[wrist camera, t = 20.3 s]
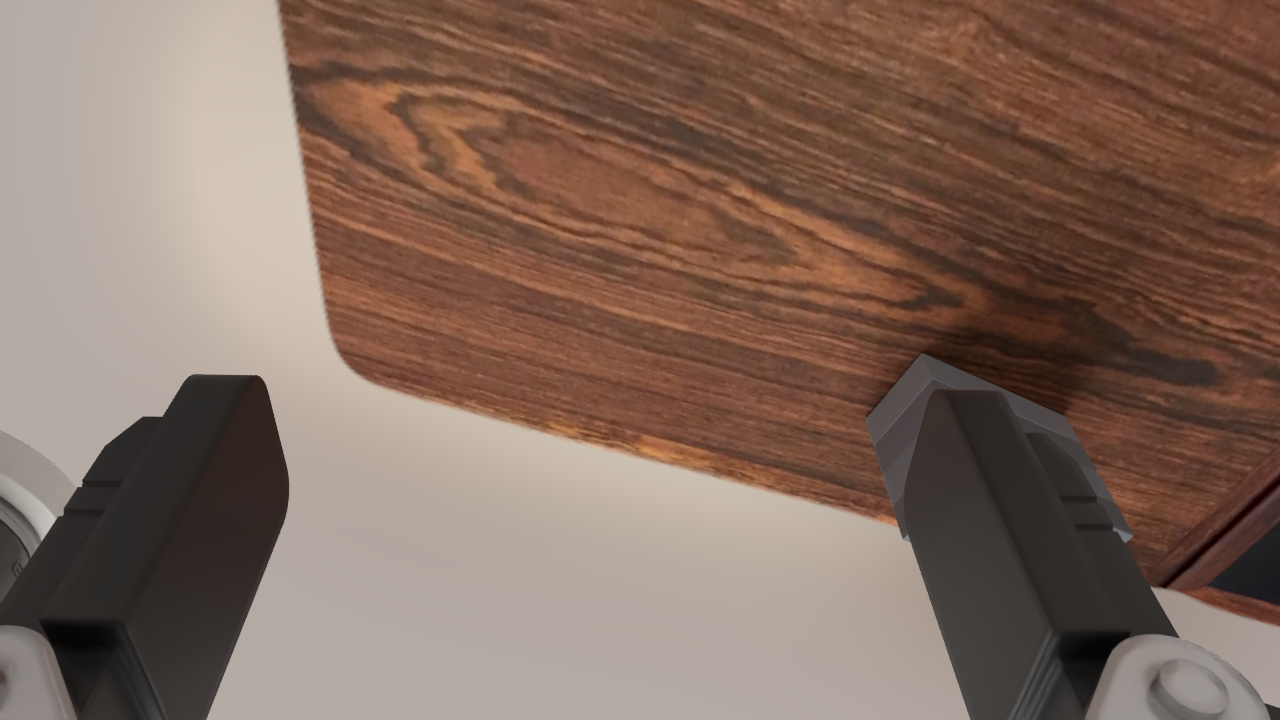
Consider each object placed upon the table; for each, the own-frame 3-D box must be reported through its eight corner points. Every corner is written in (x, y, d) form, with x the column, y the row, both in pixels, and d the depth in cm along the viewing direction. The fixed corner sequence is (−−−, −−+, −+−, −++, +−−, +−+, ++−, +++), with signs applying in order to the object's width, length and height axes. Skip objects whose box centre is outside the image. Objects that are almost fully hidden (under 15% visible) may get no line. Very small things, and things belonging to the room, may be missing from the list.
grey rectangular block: (864, 419, 42) (902, 539, 36) (921, 352, 40) (971, 469, 34) (1004, 476, 44) (1060, 598, 39) (1065, 415, 42) (1135, 535, 36)
